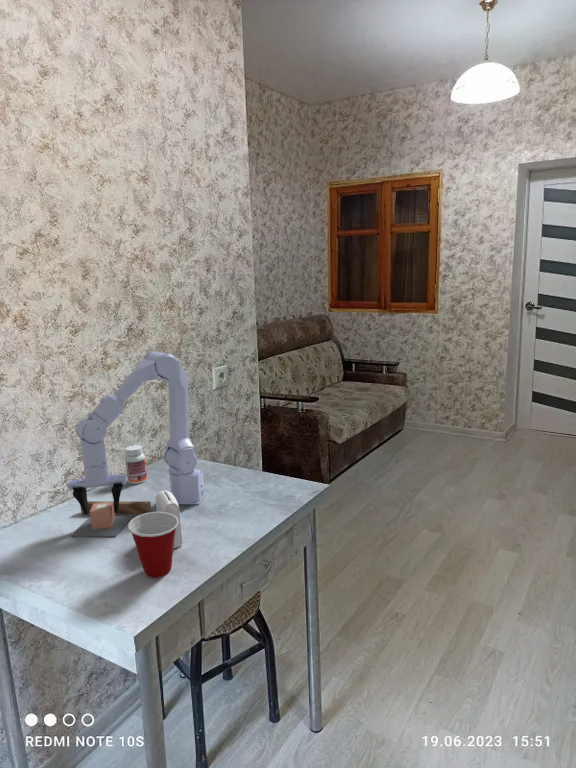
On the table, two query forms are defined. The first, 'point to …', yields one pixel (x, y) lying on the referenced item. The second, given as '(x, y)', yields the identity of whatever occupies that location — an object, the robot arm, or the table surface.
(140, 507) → the walnut board
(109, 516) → the marked cube
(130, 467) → the pill bottle
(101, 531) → the slate mat
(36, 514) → the table surface
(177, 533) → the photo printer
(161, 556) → the plastic cup
